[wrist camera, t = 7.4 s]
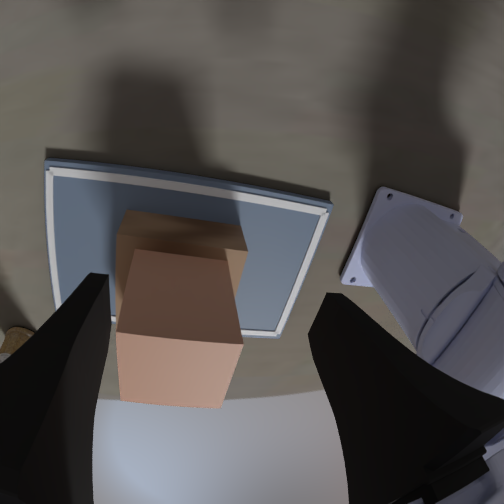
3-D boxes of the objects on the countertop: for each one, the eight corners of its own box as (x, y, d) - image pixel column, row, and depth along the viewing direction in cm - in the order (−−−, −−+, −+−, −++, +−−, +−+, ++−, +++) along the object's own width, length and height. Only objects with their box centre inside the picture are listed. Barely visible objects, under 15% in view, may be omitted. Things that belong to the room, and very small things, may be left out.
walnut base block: (241, 225, 20) (248, 251, 17) (218, 311, 23) (222, 341, 21) (126, 209, 18) (116, 234, 16) (122, 300, 21) (116, 330, 19)
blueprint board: (330, 201, 21) (334, 205, 20) (277, 333, 27) (279, 339, 26) (48, 157, 16) (43, 160, 15) (58, 309, 22) (55, 315, 21)
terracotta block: (227, 260, 18) (243, 344, 13) (211, 326, 20) (220, 408, 15) (135, 248, 16) (116, 331, 11) (131, 318, 19) (120, 400, 14)
